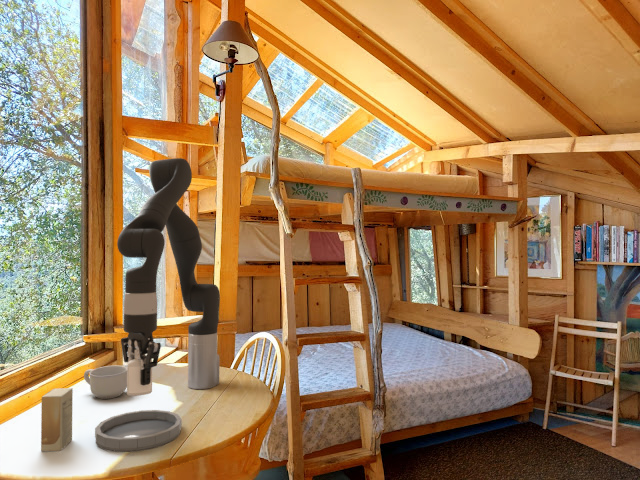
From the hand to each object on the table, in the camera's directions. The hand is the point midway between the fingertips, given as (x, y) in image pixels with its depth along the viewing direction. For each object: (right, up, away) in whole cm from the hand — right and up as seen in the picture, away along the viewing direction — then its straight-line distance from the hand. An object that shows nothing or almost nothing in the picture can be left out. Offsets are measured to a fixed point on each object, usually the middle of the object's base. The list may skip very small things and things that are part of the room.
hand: (139, 382), depth 114 cm
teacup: (-22, -13, +31) cm, 41 cm away
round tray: (0, -13, 0) cm, 13 cm away
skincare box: (-16, -13, -7) cm, 22 cm away
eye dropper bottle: (0, -3, 0) cm, 3 cm away
